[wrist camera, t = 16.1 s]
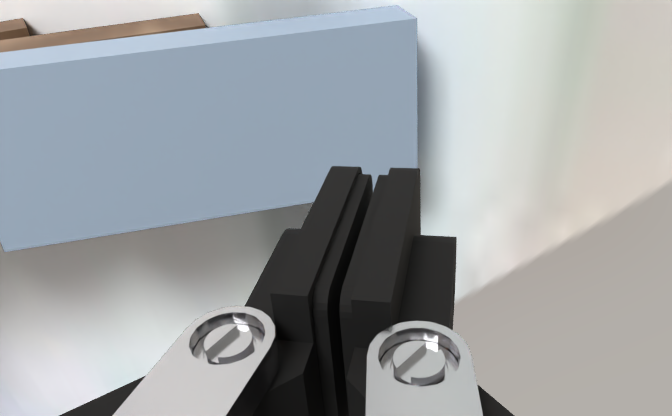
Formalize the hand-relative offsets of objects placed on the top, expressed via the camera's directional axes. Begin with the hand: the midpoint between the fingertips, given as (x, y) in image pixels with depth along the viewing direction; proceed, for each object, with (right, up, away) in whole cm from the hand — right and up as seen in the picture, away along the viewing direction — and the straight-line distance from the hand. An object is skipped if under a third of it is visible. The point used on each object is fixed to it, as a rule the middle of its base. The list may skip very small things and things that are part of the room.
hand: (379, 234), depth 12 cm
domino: (+1, +4, +6) cm, 7 cm away
